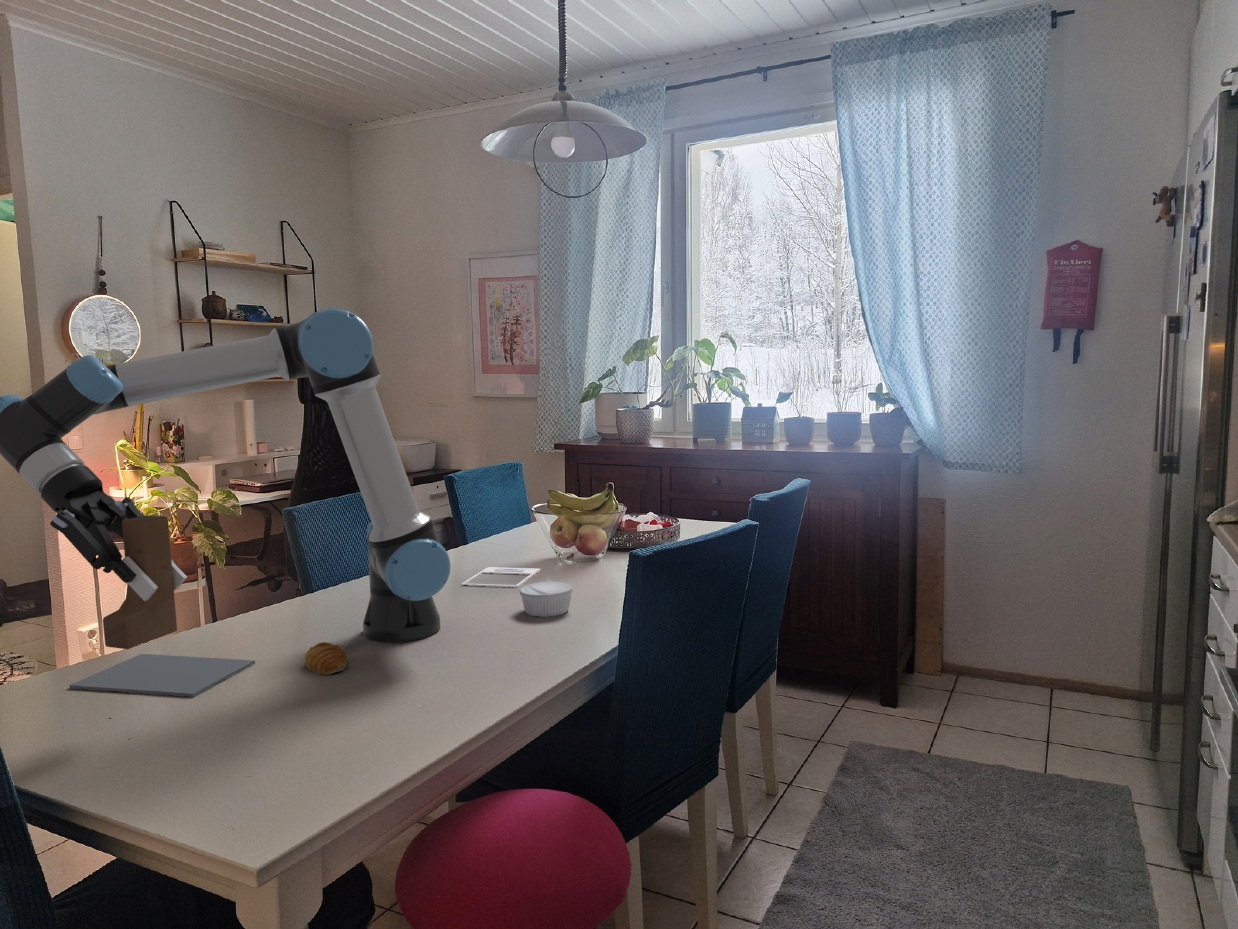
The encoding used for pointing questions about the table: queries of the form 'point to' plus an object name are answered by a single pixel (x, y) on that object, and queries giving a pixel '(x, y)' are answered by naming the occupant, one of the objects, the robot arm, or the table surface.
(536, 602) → the ramekin
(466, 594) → the table surface
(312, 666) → the pastry
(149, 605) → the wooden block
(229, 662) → the mat
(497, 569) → the photo frame
